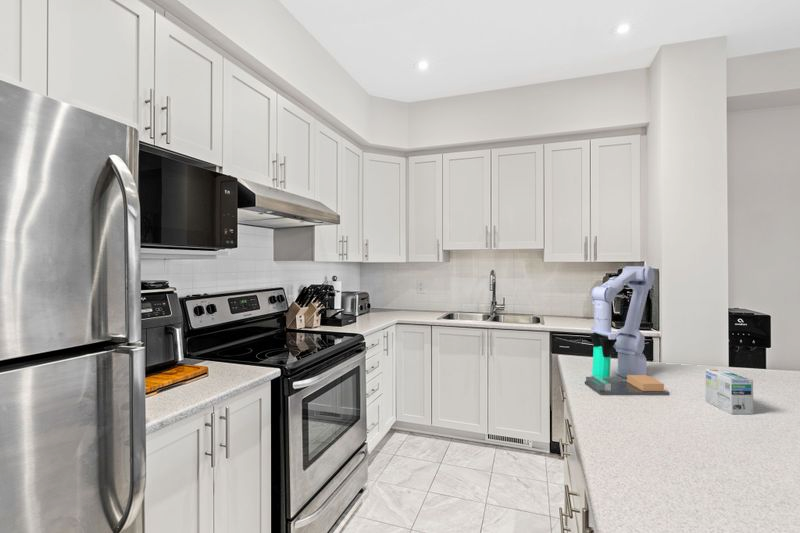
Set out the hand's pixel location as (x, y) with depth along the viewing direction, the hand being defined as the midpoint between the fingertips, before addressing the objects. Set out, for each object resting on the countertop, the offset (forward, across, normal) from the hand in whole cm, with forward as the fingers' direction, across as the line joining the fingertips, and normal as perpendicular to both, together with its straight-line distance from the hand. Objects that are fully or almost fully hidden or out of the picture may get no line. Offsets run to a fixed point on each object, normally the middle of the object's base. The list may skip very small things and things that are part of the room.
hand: (602, 354), depth 147 cm
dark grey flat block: (+10, +8, +4) cm, 14 cm away
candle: (+8, 0, 0) cm, 8 cm away
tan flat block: (+9, +8, +11) cm, 16 cm away
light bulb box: (+11, +24, +27) cm, 38 cm away
